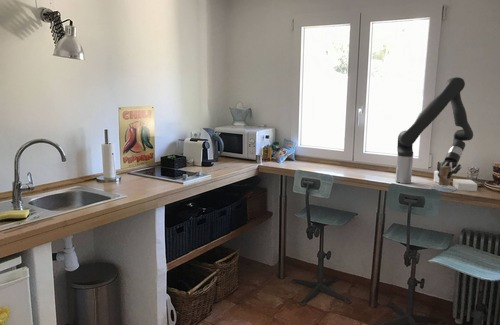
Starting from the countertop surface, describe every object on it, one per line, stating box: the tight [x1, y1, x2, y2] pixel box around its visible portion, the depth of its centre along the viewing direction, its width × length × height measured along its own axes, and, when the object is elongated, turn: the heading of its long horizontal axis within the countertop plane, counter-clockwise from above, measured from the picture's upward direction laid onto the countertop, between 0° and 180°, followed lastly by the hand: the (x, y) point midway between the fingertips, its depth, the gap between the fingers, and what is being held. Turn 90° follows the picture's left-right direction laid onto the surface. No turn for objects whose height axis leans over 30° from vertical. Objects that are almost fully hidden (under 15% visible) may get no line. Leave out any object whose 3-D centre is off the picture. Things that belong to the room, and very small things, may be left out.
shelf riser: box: [452, 178, 478, 192], centre depth 242 cm, size 10×14×4 cm
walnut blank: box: [438, 166, 451, 187], centre depth 237 cm, size 4×4×11 cm
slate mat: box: [430, 185, 459, 193], centre depth 239 cm, size 12×12×1 cm
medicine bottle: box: [433, 165, 443, 184], centre depth 257 cm, size 7×7×12 cm
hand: (443, 177), depth 236 cm, fingers closed on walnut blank, 4 cm apart
